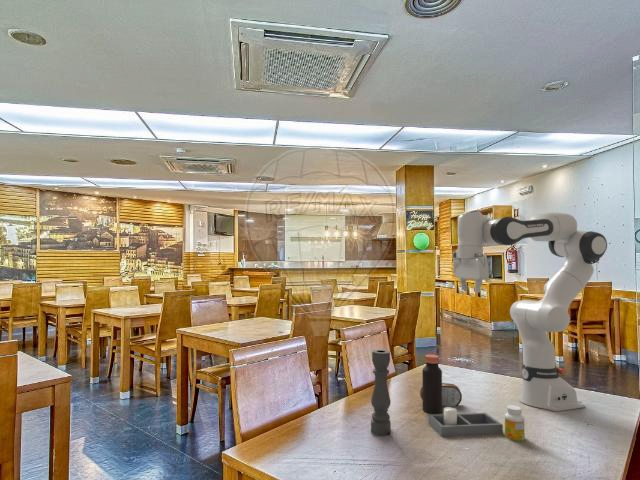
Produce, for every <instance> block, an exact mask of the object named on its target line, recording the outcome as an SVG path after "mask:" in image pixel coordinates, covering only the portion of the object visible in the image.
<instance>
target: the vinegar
mask: <svg viewBox="0 0 640 480" xmlns="http://www.w3.org/2000/svg"><path fill="white" fill-rule="evenodd" d="M424 363H425V366H424V367H423V368H422V370H421V371H422V375H421V376H422V377H421V379H422V386H423V400H422V412H424V413H427V414H429V415H437V414H443V406H442V383H443V371H442V369H441V367H440V366H439V364H440V356H439V355H438V354H437V355H436V354H425V355H424Z"/></svg>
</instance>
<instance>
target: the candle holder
mask: <svg viewBox="0 0 640 480" xmlns="http://www.w3.org/2000/svg"><path fill="white" fill-rule="evenodd" d="M371 359H372V360H371V361H372V364H373V366H374V368H373V369H372V373H373V374H374V387H373V391H372V395H371V399H370V400H371V402H370V403H371V406H372V407H373V410H374V412H372V414H371V420H370V432H371V434H373V435H375V436H379V437H385V436H390V434H391V429H392V428H391V424H392V423H391V420H390V419H391V417H390V415H389V413H388V411H389V408H390V406H391V403H392V402H391V396H390V393H389V388H388V387H389V386H388V375H389V374H390V370H389V369H388V368H389V366H390V363H391V352H390V350H387V349H372V351H371Z"/></svg>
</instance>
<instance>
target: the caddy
mask: <svg viewBox="0 0 640 480" xmlns="http://www.w3.org/2000/svg"><path fill="white" fill-rule="evenodd" d="M427 417H428V418H427V419H428V421H427V422H428V425H430V427H432V428H433V430H435V432H436V433H437V434H438V435H439V436H440V437H457V436H459V437H460V436H476V435H477V436H478V435H479V436H480V435H481V436H482V435H496V434H497V435H498V434H500V435H501V434H502V435H503V433H504V432H503V431H504V430H503V429H504V426H503V423H501V422H500V421H499V420H497V419H496V418H494V417H493V416H491V415H489V414H488V413H487V412H472V413H471V412H469V413H468V412H467V413H457V425H447V426H444V413H440V414H428V416H427Z"/></svg>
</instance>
